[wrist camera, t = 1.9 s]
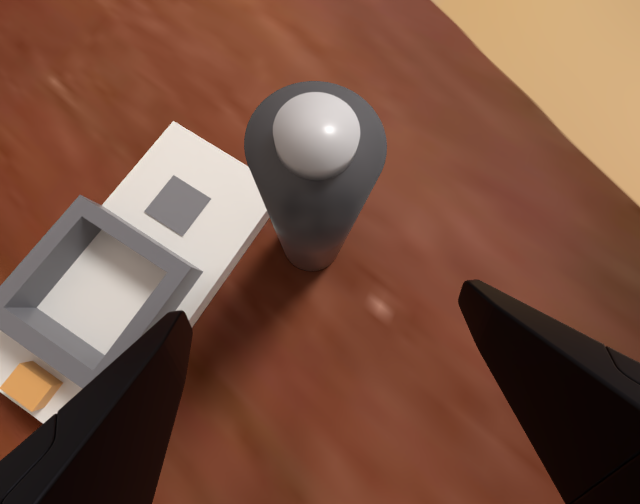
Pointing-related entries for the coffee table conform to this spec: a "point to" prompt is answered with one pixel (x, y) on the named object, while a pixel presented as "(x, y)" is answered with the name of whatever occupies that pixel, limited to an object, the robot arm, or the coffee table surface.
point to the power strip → (124, 268)
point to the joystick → (314, 166)
